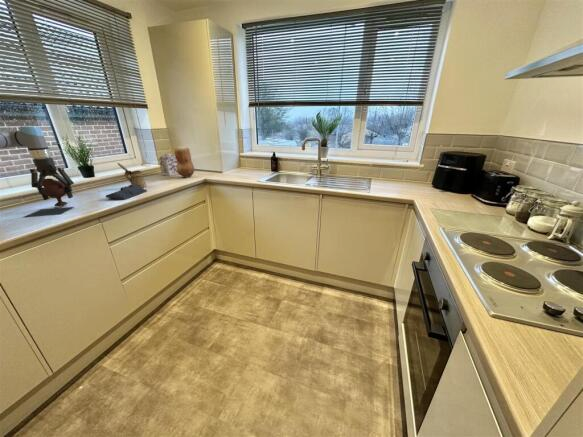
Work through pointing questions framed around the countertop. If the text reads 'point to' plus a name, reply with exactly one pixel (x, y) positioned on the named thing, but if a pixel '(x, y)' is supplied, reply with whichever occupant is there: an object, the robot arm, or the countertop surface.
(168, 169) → the decorative jar
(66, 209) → the placemat
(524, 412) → the countertop surface
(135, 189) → the dark slate chunk
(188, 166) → the butternut squash
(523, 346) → the countertop surface
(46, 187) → the ice cream bowl
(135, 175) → the tan handled pot
